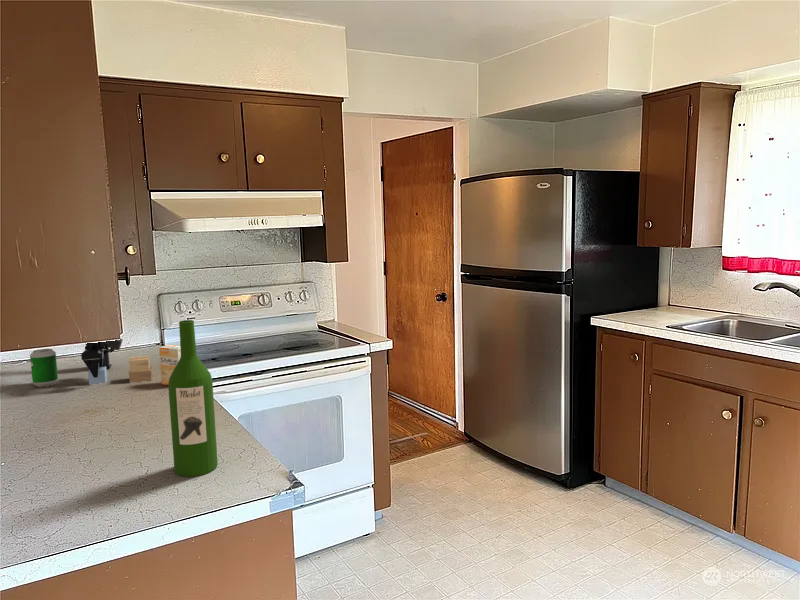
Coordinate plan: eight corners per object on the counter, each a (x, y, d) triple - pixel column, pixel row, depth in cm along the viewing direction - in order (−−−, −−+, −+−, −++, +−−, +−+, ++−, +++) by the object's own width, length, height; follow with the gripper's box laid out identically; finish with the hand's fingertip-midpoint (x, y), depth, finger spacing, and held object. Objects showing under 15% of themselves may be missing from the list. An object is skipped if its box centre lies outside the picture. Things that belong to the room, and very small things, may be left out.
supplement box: (160, 385, 198) (158, 347, 196) (171, 381, 202) (168, 344, 201) (179, 387, 195) (177, 348, 193) (190, 383, 199) (187, 345, 198)
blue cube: (91, 382, 204) (90, 368, 204) (107, 380, 206) (106, 366, 205) (89, 385, 200) (88, 371, 199) (105, 383, 201) (104, 369, 201)
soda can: (63, 381, 205) (60, 348, 204) (48, 387, 198) (45, 352, 196) (43, 381, 206) (40, 348, 204) (27, 387, 198) (24, 352, 197)
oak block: (131, 368, 207) (130, 357, 206) (149, 366, 209) (148, 355, 208) (130, 372, 201) (129, 360, 201) (149, 370, 203) (148, 358, 203)
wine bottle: (175, 480, 121) (164, 326, 117) (173, 464, 130) (163, 320, 126) (220, 472, 125) (210, 322, 121) (215, 457, 133) (206, 316, 129)
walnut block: (131, 379, 208) (130, 368, 207) (152, 377, 210) (152, 366, 210) (129, 383, 201) (128, 372, 201) (151, 381, 203) (150, 370, 203)
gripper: (116, 332, 195) (120, 378, 196) (122, 324, 212) (125, 366, 214) (79, 335, 191) (83, 381, 193) (88, 326, 208) (92, 369, 210)
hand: (97, 374), depth 203 cm, fingers open, 9 cm apart
